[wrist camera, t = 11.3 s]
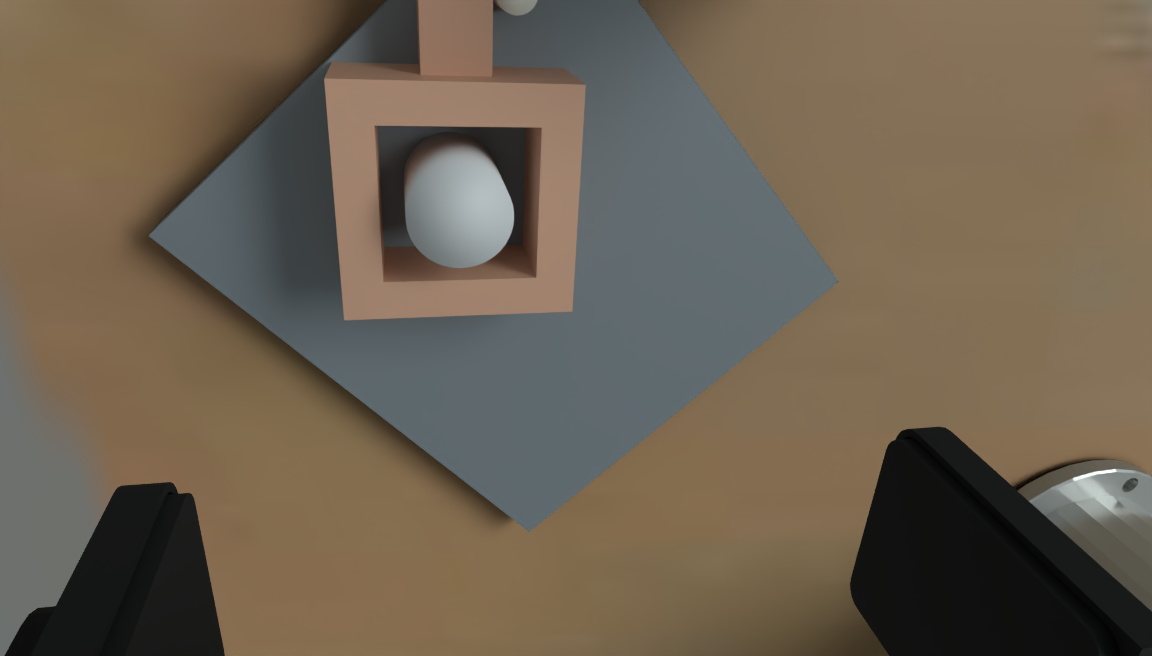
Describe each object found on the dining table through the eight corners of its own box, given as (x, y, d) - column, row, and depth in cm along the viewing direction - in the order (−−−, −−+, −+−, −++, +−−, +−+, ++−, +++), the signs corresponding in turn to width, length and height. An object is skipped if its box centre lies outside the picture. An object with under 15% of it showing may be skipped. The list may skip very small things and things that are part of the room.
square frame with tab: (321, -68, 22) (312, -68, 19) (570, -53, 23) (593, -51, 20) (349, 281, 26) (344, 320, 24) (554, 275, 28) (572, 311, 25)
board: (823, 269, 31) (897, 327, 27) (524, 513, 34) (545, 604, 29) (529, -139, 23) (563, -157, 18) (158, 223, 25) (107, 287, 21)
